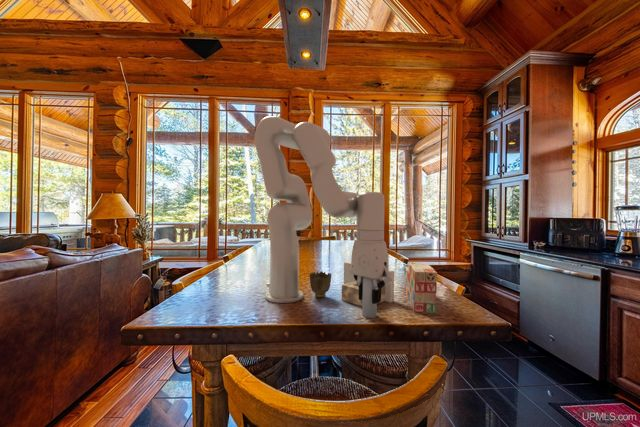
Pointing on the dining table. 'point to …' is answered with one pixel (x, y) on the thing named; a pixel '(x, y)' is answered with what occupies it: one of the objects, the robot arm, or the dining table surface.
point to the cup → (320, 283)
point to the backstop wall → (389, 286)
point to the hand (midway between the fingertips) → (369, 300)
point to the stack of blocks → (421, 287)
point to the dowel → (368, 299)
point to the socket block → (356, 293)
